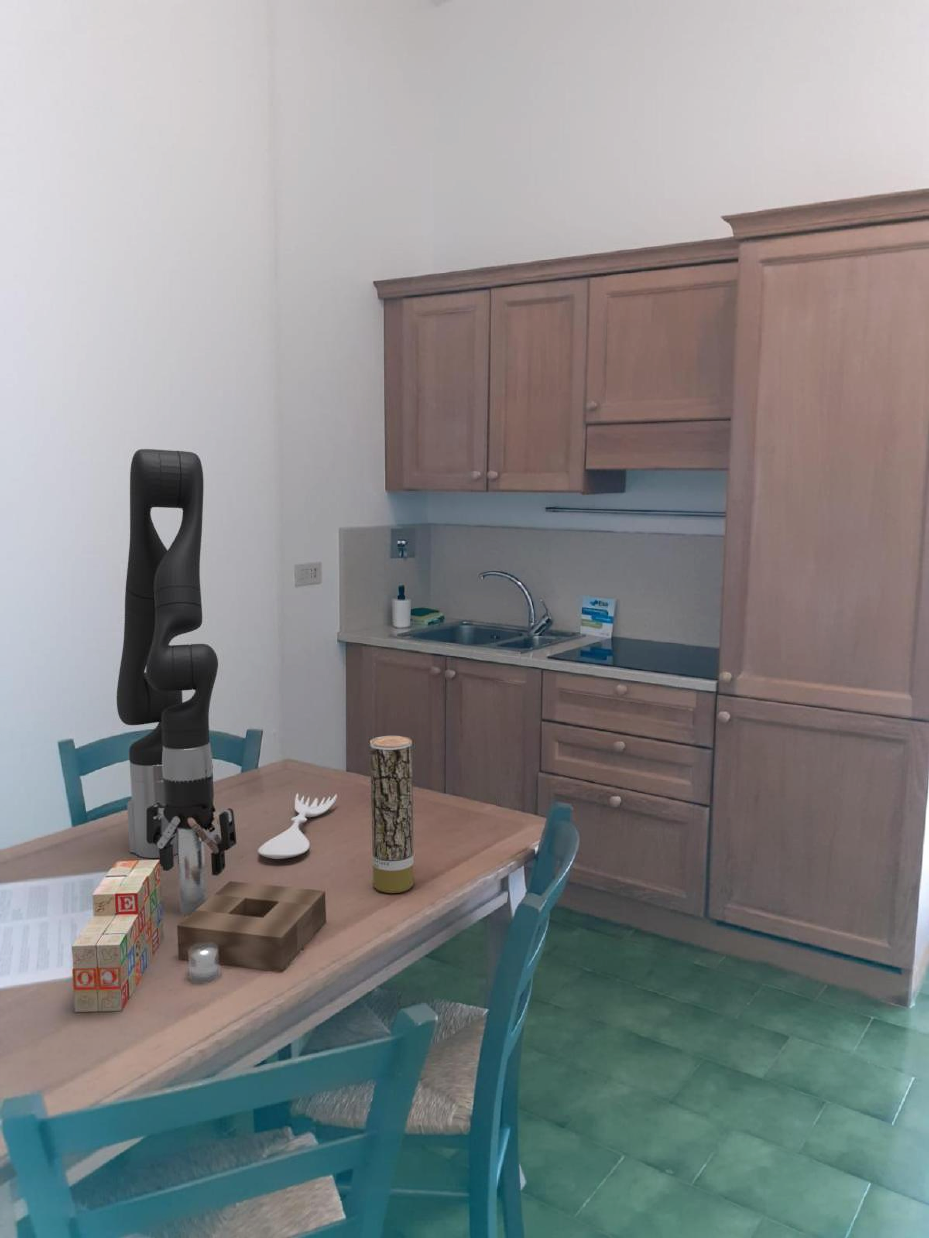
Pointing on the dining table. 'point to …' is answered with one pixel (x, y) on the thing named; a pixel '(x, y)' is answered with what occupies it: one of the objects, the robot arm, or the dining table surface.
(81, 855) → the dining table surface
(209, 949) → the grey metal cylinder
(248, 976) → the dining table surface
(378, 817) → the paper tube
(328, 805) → the spoon
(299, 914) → the hole block
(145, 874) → the stack of blocks
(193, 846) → the long pin
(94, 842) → the dining table surface
